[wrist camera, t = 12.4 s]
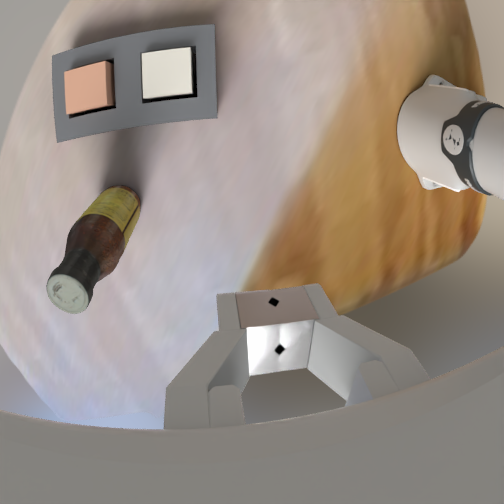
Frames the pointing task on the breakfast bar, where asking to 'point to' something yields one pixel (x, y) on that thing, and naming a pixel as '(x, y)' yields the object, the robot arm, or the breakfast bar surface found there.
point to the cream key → (167, 73)
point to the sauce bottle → (94, 248)
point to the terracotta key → (90, 87)
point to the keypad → (136, 81)
